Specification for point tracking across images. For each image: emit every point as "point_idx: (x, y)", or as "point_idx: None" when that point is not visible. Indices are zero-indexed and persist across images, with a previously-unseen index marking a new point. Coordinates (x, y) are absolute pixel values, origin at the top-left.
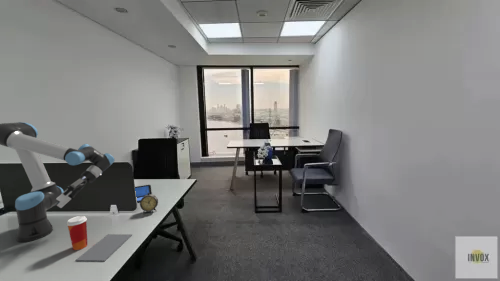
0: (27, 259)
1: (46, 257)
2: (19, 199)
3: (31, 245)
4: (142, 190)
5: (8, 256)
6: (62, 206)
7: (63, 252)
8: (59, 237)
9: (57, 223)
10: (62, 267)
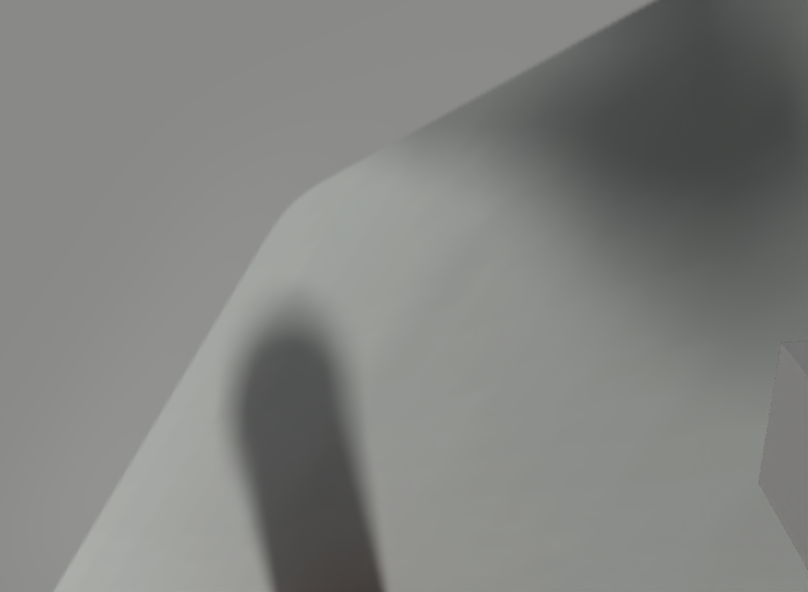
0: (418, 257)
1: (353, 403)
2: None
3: (726, 173)
4: None
5: (584, 63)
6: (785, 520)
7: (344, 534)
8: None
9: None
10: (157, 538)
